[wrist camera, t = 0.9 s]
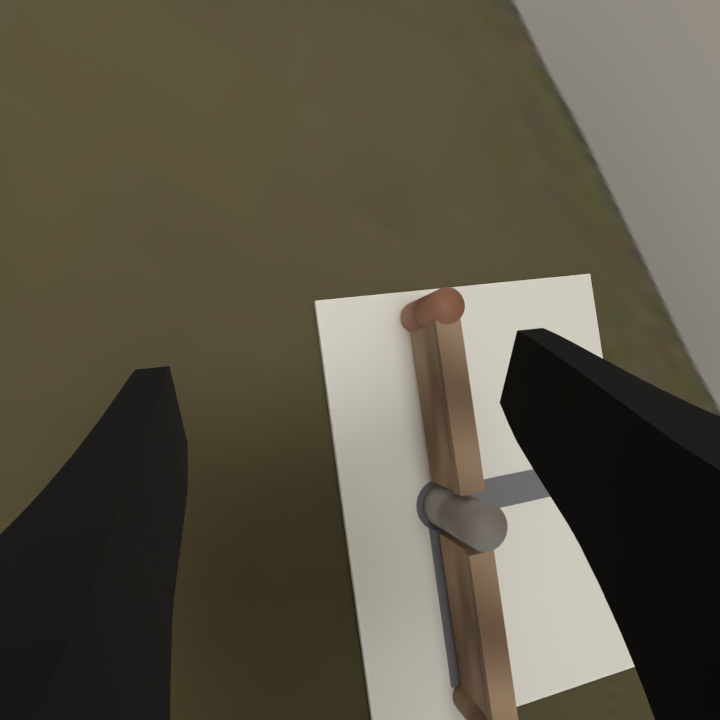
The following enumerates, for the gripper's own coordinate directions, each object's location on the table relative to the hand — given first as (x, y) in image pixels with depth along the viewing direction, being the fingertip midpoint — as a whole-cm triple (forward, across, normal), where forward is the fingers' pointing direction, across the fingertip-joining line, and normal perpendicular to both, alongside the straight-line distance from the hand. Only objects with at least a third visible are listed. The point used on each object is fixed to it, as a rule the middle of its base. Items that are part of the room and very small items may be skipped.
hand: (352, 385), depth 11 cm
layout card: (+8, -9, +15) cm, 19 cm away
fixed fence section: (+5, -7, +18) cm, 20 cm away
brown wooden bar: (+11, -6, +10) cm, 16 cm away
